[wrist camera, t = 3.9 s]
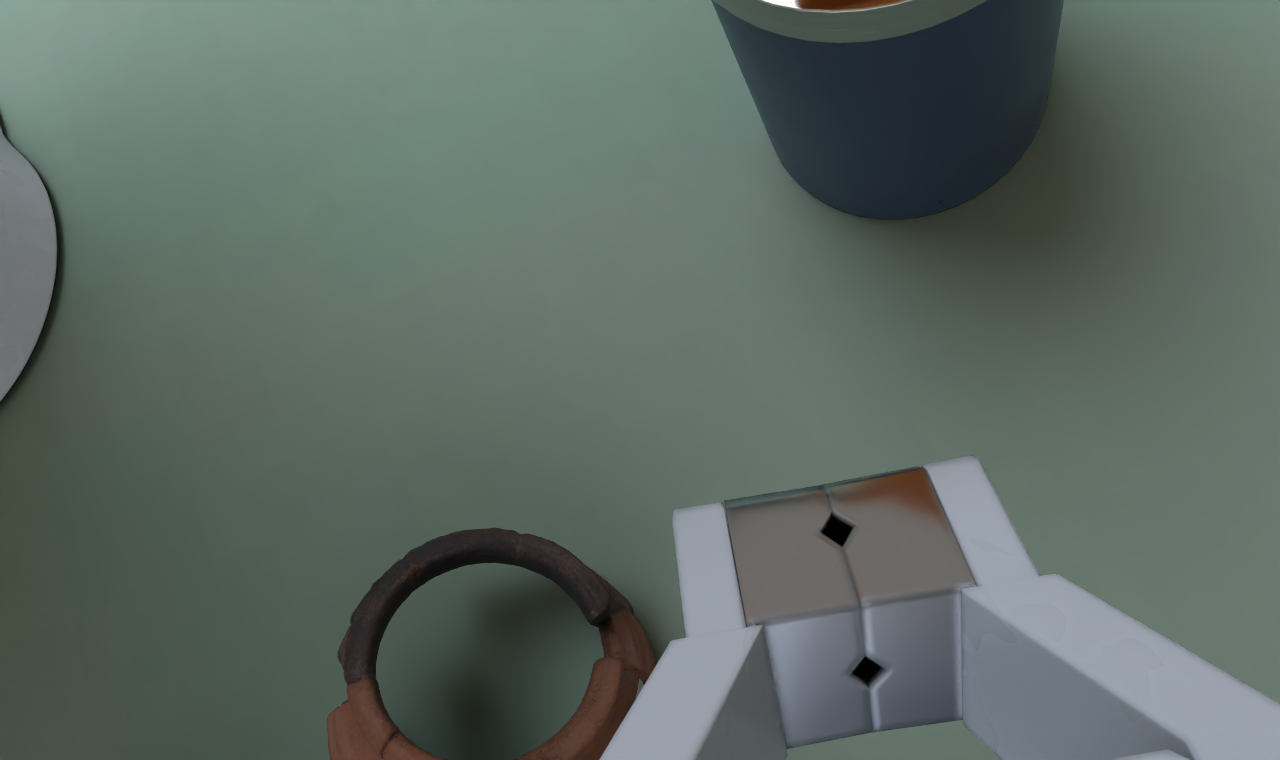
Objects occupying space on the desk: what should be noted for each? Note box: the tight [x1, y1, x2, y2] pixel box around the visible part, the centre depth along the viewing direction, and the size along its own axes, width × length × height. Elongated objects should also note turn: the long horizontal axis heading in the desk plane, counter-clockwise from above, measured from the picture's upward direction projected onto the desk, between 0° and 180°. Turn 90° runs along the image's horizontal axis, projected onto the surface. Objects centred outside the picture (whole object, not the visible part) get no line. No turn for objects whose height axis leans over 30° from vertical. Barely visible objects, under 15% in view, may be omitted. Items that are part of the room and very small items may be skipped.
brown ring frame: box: [327, 528, 656, 760], centre depth 28 cm, size 12×10×8 cm
